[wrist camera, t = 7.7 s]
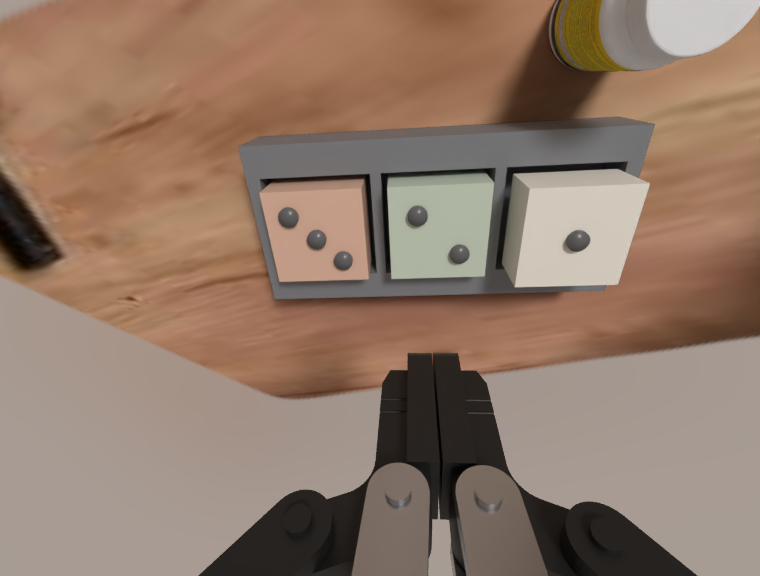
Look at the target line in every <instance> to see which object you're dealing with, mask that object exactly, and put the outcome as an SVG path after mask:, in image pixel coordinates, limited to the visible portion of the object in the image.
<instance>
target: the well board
mask: <svg viewBox="0 0 760 576" xmlns="http://www.w3.org/2000/svg"><path fill="white" fill-rule="evenodd" d="M654 125H655V124H652V123H647V122H642V121H637V120H632V119H628V118H623V117H606V118H588V119H570V120H552V121H535V122H517V123H499V124H481V125H463V126H445V127H427V128H410V129H392V130H374V131H356V132H338V133H320V134H303V135H285V136H267V137H258V138H256V139H253V140H251V141H249V142H247V143H245V144H243V145H241V146H239V147H238V149H239V153H240V157H241V162H242V166H243V170H244V174H245V178H246V182H247V186H248V190H249V195H250V199H251V203H252V207H253V211H254V215H255V219H256V223H257V227H258V232H259V236H260V240H261V244H262V248H263V252H264V256H265V260H266V265H267V269H268V273H269V277H270V281H271V285H272V289H273V293H274V297H275V299H304V298H343V297H382V296H421V295H461V294H500V293H539V292H578V291H605V288H606V285H587V286H549V287H514V285H513V283H512V281H511V280H510V278H509V276H508V274H507V272H506V270H505V268H504V266H503V265H502V258H503V250H504V242H505V234H506V226H507V218H508V211H509V203H510V195H511V187H512V179H513V174H519V173H540V172H562V171H583V170H604V169H619V170H621V171H623V172H626V173H628V174H630V175H632V176H635V177H637V178H639V175H640V172H641V168H642V165H643V162H644V158H645V155H646V152H647V148H648V145H649V142H650V138H651V135H652V132H653V128H654ZM478 169H483V170H484V171H485V172H486V174H487V175H488V176H489V177H490V178H491V179H492V181H493V182H494V190H493V200H492V210H491V219H490V229H489V239H488V249H487V258H486V268H485V276H481V277H447V278H412V279H391V258H390V237H389V215H388V194H387V184H388V174H395V173H416V172H437V171H458V170H478ZM350 175H366V188H367V201H368V214H369V227H370V241H371V254H372V260H371V267H370V274H369V279H364V280H329V281H294V282H279V277H278V273H277V268H276V264H275V260H274V255H273V251H272V247H271V242H270V238H269V233H268V229H267V225H266V220H265V216H264V212H263V207H262V203H261V198H260V194H259V193H260V192H261V191H262V190H263V189H265V188H266V187H267V186H268V185H269V184H270V183H271V182H272V181H274V180H275V179H287V178H308V177H329V176H350Z"/></svg>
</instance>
